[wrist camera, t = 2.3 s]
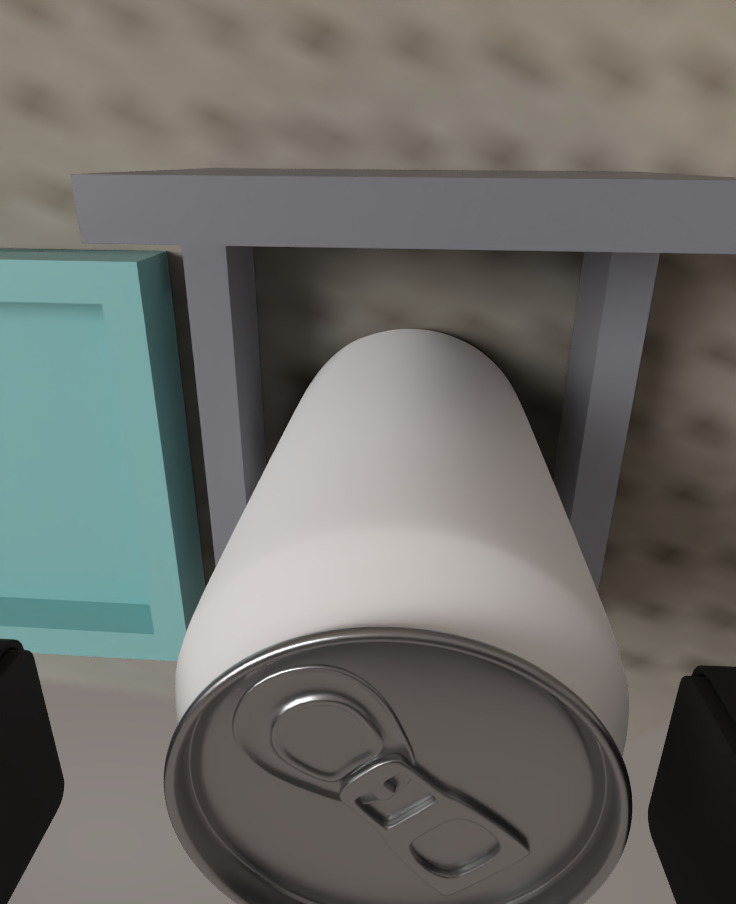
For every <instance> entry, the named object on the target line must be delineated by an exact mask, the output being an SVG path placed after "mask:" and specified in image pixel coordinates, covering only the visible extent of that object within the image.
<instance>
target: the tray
mask: <svg viewBox="0 0 736 904" xmlns="http://www.w3.org/2000/svg"><path fill="white" fill-rule="evenodd" d="M204 590H205V579H204V570H203V561H202V553H201V544H200V535H199V527H198V518H197V509H196V501H195V492H194V483H193V474H192V466H191V457H190V448H189V440H188V431H187V422H186V414H185V405H184V396H183V388H182V379H181V370H180V361H179V353H178V344H177V335H176V327H175V318H174V309H173V301H172V292H171V283H170V275H169V266H168V257H167V251H131V250H72V249H13V248H0V639H15V640H18V641H19V642H21V643H22V645H23V648H24V650H29V651H30V652H31V653H45V654H61V655H78V656H95V657H112V658H129V659H146V660H163V661H178V658H179V654H180V650H181V647H182V644H183V641H184V637H185V634H186V631H187V629H188V626H189V623H190V621H191V619H192V617H193V614H194V612H195V610H196V608H197V606H198V603H199V601H200V599H201V597H202V594H203V592H204Z"/></svg>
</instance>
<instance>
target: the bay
mask: <svg viewBox="0 0 736 904" xmlns="http://www.w3.org/2000/svg"><path fill="white" fill-rule="evenodd" d="M70 175H71V181H72V187H73V193H74V199H75V205H76V211H77V217H78V223H79V229H80V236H81V242H82V243H83V244H144V245H182V254H183V264H184V273H185V283H186V292H187V302H188V311H189V321H190V330H191V340H192V349H193V358H194V368H195V377H196V387H197V396H198V406H199V415H200V425H201V434H202V444H203V453H204V462H205V472H206V481H207V491H208V500H209V510H210V519H211V529H212V538H213V548H214V557H215V566H217V564H218V562H219V560H220V558H221V556H222V554H223V552H224V550H225V548H226V546H227V544H228V542H229V540H230V538H231V536H232V534H233V532H234V530H235V528H236V526H237V524H238V522H239V520H240V518H241V516H242V514H243V512H244V510H245V508H246V506H247V504H248V502H249V500H250V498H251V496H252V494H253V492H254V490H255V488H256V486H257V484H258V482H259V480H260V478H261V476H262V474H263V472H264V470H265V468H266V466H267V462H266V446H265V430H264V414H263V399H262V383H261V367H260V351H259V335H258V319H257V303H256V287H255V271H254V255H253V246H267V247H328V248H390V249H451V250H513V251H574V252H584V253H583V260H582V268H581V275H580V282H579V290H578V297H577V304H576V312H575V319H574V326H573V334H572V341H571V348H570V356H569V363H568V370H567V378H566V385H565V392H564V399H563V407H562V414H561V421H560V429H559V436H558V443H557V451H556V458H555V465H554V473H553V482H554V485H555V487H556V490H557V492H558V495H559V497H560V500H561V502H562V505H563V507H564V510H565V512H566V514H567V517H568V519H569V522H570V524H571V527H572V529H573V532H574V534H575V537H576V539H577V542H578V544H579V547H580V549H581V552H582V554H583V557H584V559H585V562H586V564H587V567H588V569H589V572H590V574H591V577H592V579H593V582H594V584H595V587H596V589H597V592H598V590H599V584H600V579H601V574H602V568H603V563H604V557H605V552H606V546H607V541H608V535H609V530H610V524H611V519H612V513H613V508H614V502H615V497H616V492H617V486H618V481H619V475H620V470H621V464H622V459H623V453H624V448H625V442H626V437H627V431H628V426H629V420H630V415H631V410H632V404H633V399H634V393H635V388H636V382H637V377H638V371H639V366H640V360H641V355H642V349H643V344H644V338H645V333H646V328H647V322H648V317H649V311H650V306H651V300H652V295H653V289H654V284H655V278H656V273H657V267H658V262H659V256H660V253H697V254H736V178H732V177H715V176H698V175H681V174H664V173H647V172H589V171H470V170H351V169H231V168H204V169H181V170H158V171H135V172H112V173H88V174H70Z"/></svg>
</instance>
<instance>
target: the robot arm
mask: <svg viewBox="0 0 736 904" xmlns="http://www.w3.org/2000/svg"><path fill="white" fill-rule="evenodd" d="M63 792H64V778H63V774H62V770H61V766H60V762H59V758H58V754H57V750H56V746H55V742H54V737H53V733H52V730H51V725H50V721H49V717H48V713H47V709H46V705H45V701H44V697H43V693H42V689H41V684H40V680H39V676H38V672H37V668H36V664H35V660H34V657H33V654H32V653H31V652H30V651H29V650H24V648H23V645H22V643H21V642H19V641H18V640H15V639H0V904H7V903H8V901H9V899H10V897H11V896H12V894H13V892H14V890H15V888H16V886H17V884H18V882H19V881H20V879H21V877H22V875H23V873H24V871H25V870H26V868H27V866H28V864H29V862H30V860H31V858H32V856H33V855H34V853H35V851H36V849H37V847H38V845H39V844H40V842H41V840H42V838H43V836H44V834H45V832H46V830H47V829H48V827H49V825H50V823H51V821H52V819H53V817H54V816H55V814H56V812H57V810H58V808H59V806H60V804H61V800H62V797H63ZM648 822H649V828H650V832H651V836H652V839H653V842H654V845H655V847H656V850H657V853H658V855H659V858H660V861H661V863H662V866H663V869H664V871H665V874H666V877H667V879H668V882H669V885H670V887H671V890H672V893H673V895H674V898H675V901H676V903H677V904H736V667H725V666H697V667H696V668H695V669H694V671H693V674H692V676H684V677H683V678H682V679H681V682H680V685H679V689H678V693H677V697H676V701H675V705H674V709H673V712H672V716H671V720H670V724H669V728H668V732H667V736H666V740H665V744H664V748H663V753H662V756H661V760H660V764H659V768H658V772H657V776H656V780H655V784H654V788H653V792H652V796H651V800H650V804H649V808H648Z"/></svg>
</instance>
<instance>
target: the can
mask: <svg viewBox="0 0 736 904" xmlns="http://www.w3.org/2000/svg"><path fill="white" fill-rule="evenodd" d="M175 705H176V716H177V724H178V725H177V727H176V729H175V731H174V734H173V736H172V739H171V741H170V744H169V748H168V751H167V755H166V760H165V767H164V793H165V800H166V806H167V810H168V814H169V817H170V820H171V823H172V826H173V828H174V831H175V833H176V835H177V837H178V839H179V841H180V843H181V845H182V846H183V848H184V849H185V851H186V853H187V854H188V856H189V857H190V859H191V860H192V861H193V862H194V864H195V865H196V866H197V867H198V869H199V870H200V871H201V872H202V873H203V874H204V875H205V877H206V878H207V879H208V880H209V881H211V883H212V884H213V885H214V886H216V887H217V888H218V889H219V890H220V891H221V892H223V893H224V894H225V895H226V896H227V897H229V898H230V899H231V900H232V901H234V902H235V903H237V904H584V903H585V902H586V901H587V900H589V899H590V898H591V897H592V896H593V895H594V894H595V893H596V892H597V891H598V890H599V888H600V887H601V886H602V885H603V884H604V883H605V881H606V880H607V879H608V877H609V876H610V874H611V873H612V871H613V870H614V868H615V867H616V865H617V863H618V861H619V859H620V857H621V855H622V853H623V850H624V848H625V845H626V842H627V839H628V835H629V831H630V826H631V820H632V793H631V786H630V781H629V776H628V773H627V769H626V766H625V763H624V761H623V758H622V755H623V751H624V746H625V741H626V736H627V729H628V716H629V696H628V687H627V681H626V676H625V672H624V667H623V663H622V659H621V655H620V652H619V649H618V646H617V643H616V640H615V637H614V635H613V632H612V629H611V626H610V623H609V620H608V618H607V615H606V613H605V610H604V607H603V605H602V602H601V600H600V597H599V595H598V592H597V589H596V587H595V584H594V582H593V579H592V577H591V574H590V572H589V569H588V567H587V564H586V562H585V559H584V557H583V554H582V552H581V549H580V547H579V544H578V542H577V539H576V537H575V534H574V532H573V529H572V527H571V524H570V522H569V519H568V517H567V514H566V512H565V510H564V507H563V505H562V502H561V500H560V497H559V495H558V492H557V490H556V487H555V485H554V482H553V480H552V478H551V475H550V473H549V470H548V468H547V465H546V463H545V461H544V458H543V456H542V453H541V451H540V448H539V446H538V443H537V441H536V439H535V436H534V434H533V431H532V429H531V427H530V424H529V422H528V419H527V417H526V415H525V412H524V410H523V408H522V406H521V403H520V401H519V399H518V397H517V395H516V393H515V391H514V389H513V387H512V385H511V384H510V382H509V381H508V379H507V378H506V376H505V375H504V374H503V372H502V371H501V370H500V369H499V368H498V367H497V366H496V364H495V363H494V362H493V361H491V360H490V359H489V358H488V357H487V356H486V355H485V354H483V353H482V352H481V351H479V350H478V349H476V348H475V347H473V346H471V345H470V344H468V343H466V342H464V341H462V340H460V339H457V338H455V337H452V336H450V335H447V334H443V333H440V332H435V331H430V330H422V329H397V330H390V331H384V332H380V333H376V334H372V335H369V336H366V337H363V338H360V339H358V340H356V341H354V342H352V343H350V344H348V345H347V346H345V347H344V348H342V349H341V350H340V351H338V352H337V353H336V354H335V355H334V356H333V357H332V358H331V359H329V360H328V362H327V363H326V364H325V365H324V366H323V367H322V368H321V370H320V371H319V372H318V373H317V375H316V376H315V377H314V379H313V380H312V382H311V383H310V385H309V387H308V388H307V390H306V392H305V393H304V395H303V397H302V399H301V400H300V402H299V404H298V406H297V408H296V410H295V412H294V414H293V416H292V418H291V419H290V421H289V423H288V425H287V427H286V429H285V431H284V433H283V435H282V437H281V439H280V441H279V443H278V445H277V447H276V449H275V451H274V452H273V454H272V456H271V458H270V460H269V462H268V464H267V466H266V468H265V470H264V472H263V474H262V476H261V478H260V480H259V482H258V484H257V486H256V488H255V490H254V492H253V494H252V496H251V498H250V500H249V502H248V504H247V506H246V508H245V510H244V512H243V514H242V516H241V518H240V520H239V522H238V524H237V526H236V528H235V530H234V532H233V534H232V536H231V538H230V540H229V542H228V544H227V546H226V548H225V550H224V552H223V554H222V556H221V558H220V560H219V562H218V564H217V566H216V568H215V570H214V572H213V574H212V576H211V578H210V580H209V582H208V584H207V586H206V588H205V590H204V592H203V594H202V597H201V599H200V601H199V603H198V606H197V608H196V610H195V612H194V614H193V617H192V619H191V621H190V623H189V626H188V629H187V631H186V634H185V637H184V641H183V644H182V647H181V650H180V654H179V658H178V662H177V669H176V678H175Z"/></svg>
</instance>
